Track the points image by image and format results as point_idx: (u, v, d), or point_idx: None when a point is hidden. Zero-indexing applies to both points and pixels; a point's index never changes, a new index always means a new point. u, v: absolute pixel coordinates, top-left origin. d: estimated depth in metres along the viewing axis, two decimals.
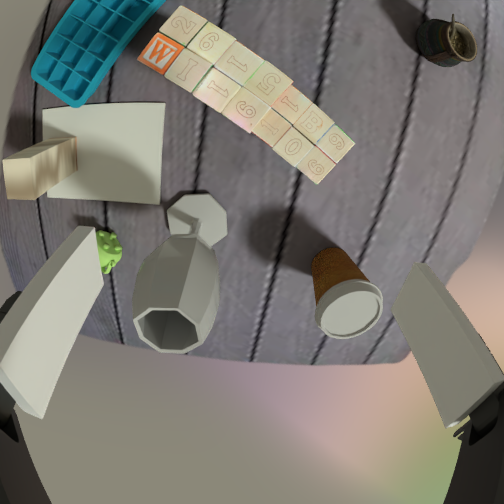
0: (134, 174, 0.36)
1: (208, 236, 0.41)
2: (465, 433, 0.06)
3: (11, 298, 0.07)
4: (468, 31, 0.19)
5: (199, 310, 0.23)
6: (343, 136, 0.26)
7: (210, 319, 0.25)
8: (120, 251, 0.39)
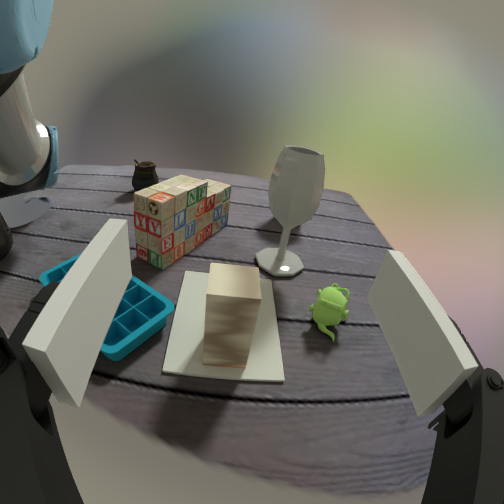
0: None
1: (288, 255, 0.54)
2: (440, 425, 0.07)
3: (46, 289, 0.07)
4: (138, 162, 0.70)
5: None
6: (204, 180, 0.59)
7: None
8: None
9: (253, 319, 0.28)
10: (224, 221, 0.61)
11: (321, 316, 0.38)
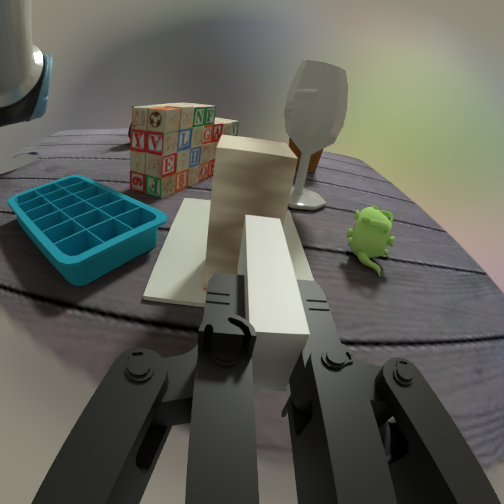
0: None
1: (306, 191, 0.45)
2: (289, 415, 0.07)
3: (214, 280, 0.09)
4: None
5: None
6: None
7: None
8: None
9: (284, 197, 0.18)
10: None
11: (364, 240, 0.28)
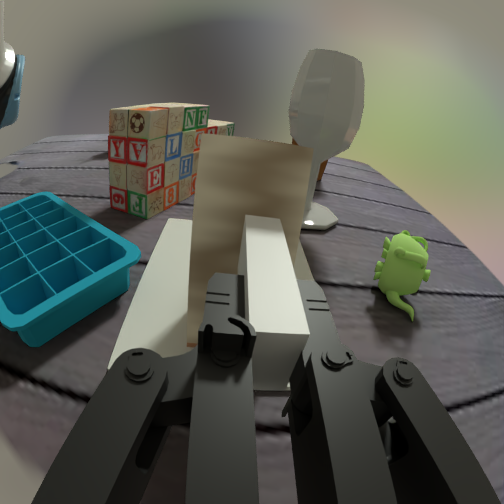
0: None
1: (315, 205, 0.38)
2: (289, 415, 0.07)
3: (213, 280, 0.09)
4: None
5: None
6: None
7: None
8: None
9: (297, 204, 0.13)
10: None
11: (396, 277, 0.21)
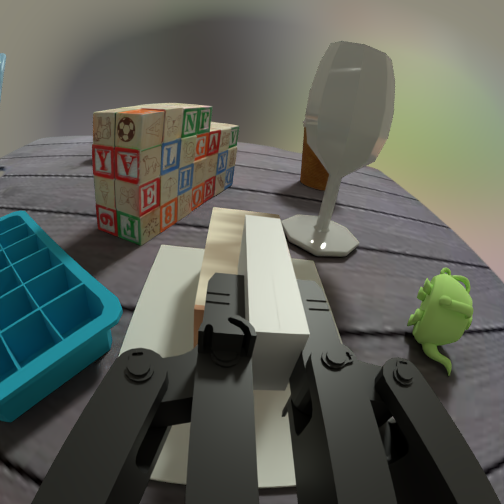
0: None
1: (332, 225, 0.33)
2: (289, 415, 0.07)
3: (213, 280, 0.09)
4: None
5: None
6: None
7: None
8: None
9: None
10: (229, 178, 0.41)
11: (438, 330, 0.16)
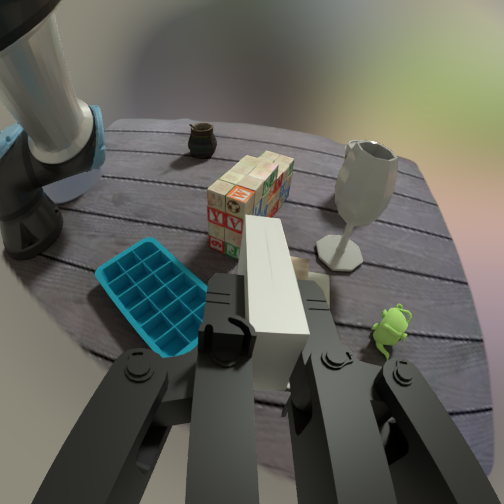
0: None
1: (349, 245, 0.51)
2: (289, 415, 0.07)
3: (213, 280, 0.09)
4: (195, 125, 0.66)
5: None
6: (265, 153, 0.55)
7: (369, 152, 0.39)
8: None
9: (306, 273, 0.40)
10: (286, 193, 0.59)
11: (381, 338, 0.36)
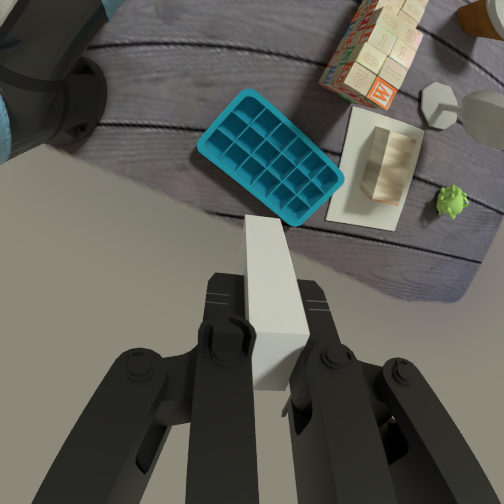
0: None
1: (450, 100, 0.35)
2: (289, 415, 0.07)
3: (214, 280, 0.09)
4: None
5: None
6: None
7: None
8: (455, 187, 0.42)
9: (411, 155, 0.37)
10: None
11: (441, 209, 0.44)
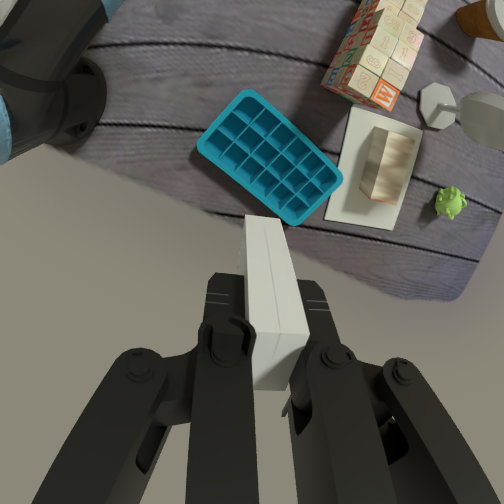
0: None
1: (449, 101, 0.35)
2: (289, 415, 0.07)
3: (213, 280, 0.09)
4: None
5: None
6: None
7: None
8: (453, 188, 0.42)
9: (409, 155, 0.37)
10: None
11: (440, 210, 0.44)
